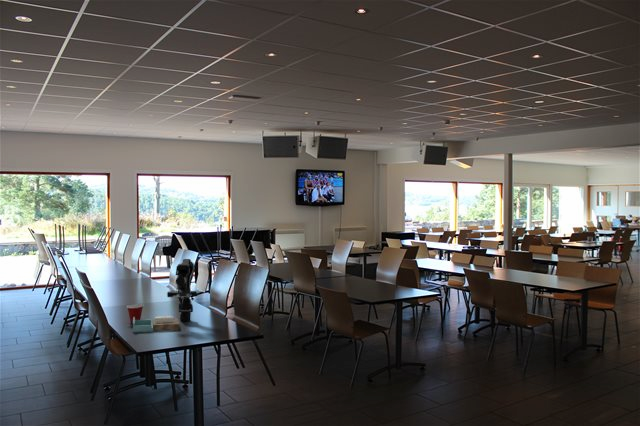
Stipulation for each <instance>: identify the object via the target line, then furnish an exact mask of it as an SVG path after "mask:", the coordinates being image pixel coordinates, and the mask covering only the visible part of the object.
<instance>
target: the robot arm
mask: <svg viewBox="0 0 640 426" xmlns="http://www.w3.org/2000/svg"><path fill="white" fill-rule="evenodd" d="M194 271H195V263H194V262H193V261H192V259H191V258H184V259H182V262H181V263H179V264H177V265H176V269H175V276H177V277H176V278H175V284H176V285H177V292H174V291H167V292H166V294H167V295H166V297H167V298H174V297H175V298H176V299H178V300H179V304H178V313H179V321H180V322H181V323H182V322H183V323H184V322H191V313H193V312H194V307H193V306H194V305H193V304H192V300H191V299H190V296H191V297H198V292H197V290H191V278H192V275H193V274H194Z"/></svg>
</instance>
